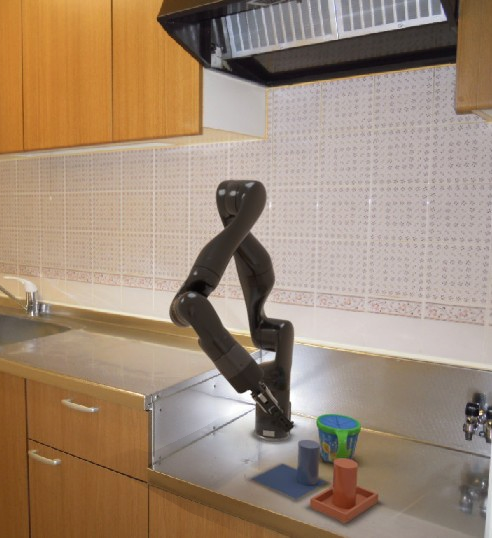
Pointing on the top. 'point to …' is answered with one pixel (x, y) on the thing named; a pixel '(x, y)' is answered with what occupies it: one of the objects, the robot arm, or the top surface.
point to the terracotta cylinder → (344, 483)
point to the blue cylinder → (308, 462)
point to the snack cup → (337, 436)
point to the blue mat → (285, 481)
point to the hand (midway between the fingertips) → (286, 423)
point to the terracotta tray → (327, 507)
